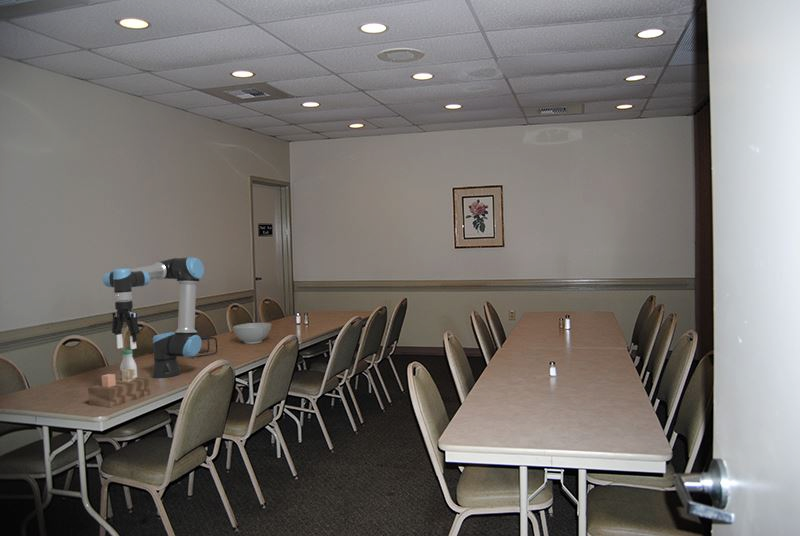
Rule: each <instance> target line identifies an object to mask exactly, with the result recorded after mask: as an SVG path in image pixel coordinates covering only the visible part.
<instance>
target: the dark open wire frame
mask: <svg viewBox="0 0 800 536" xmlns="http://www.w3.org/2000/svg"><path fill="white" fill-rule="evenodd" d="M195 330H196V331H197V332H198V327H197V325H196V324H195ZM199 336H200V338H201V340H202V341H207V350H205V351H199V352H198V353H201V354H200V355H195V356H192V357H191V358H190V359H195V358H194V357H198V358H203V357H202V356H204V357H208V355H209V356H214V354H215V355H216V354H217V353H218V352H219V351H218V350H219V349H218V339H217V338H216V337H214V336H208V335H206V334H205V335H204V334H203V335H199ZM210 340H214V341H215V351H214V352H212V353H208V352H210ZM205 352H206V354H205ZM207 353H208V354H207Z"/></svg>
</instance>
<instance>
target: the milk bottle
mask: <svg viewBox="0 0 800 536" xmlns="http://www.w3.org/2000/svg"><path fill="white" fill-rule="evenodd" d="M121 353H122V361H121V363H120V366H119V373H120V374H119V375H120V379H121V378H122V370H126V369H135V377H138V366H137V363H136V361H135V358H134V357H133V349H125V350H123V351H122V352H121Z"/></svg>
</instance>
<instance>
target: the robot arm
mask: <svg viewBox="0 0 800 536" xmlns="http://www.w3.org/2000/svg"><path fill="white" fill-rule="evenodd" d="M204 275H205V267H204V264H203V263H202V261H201V260H200V259H199V258H197V257H176V258H175V257H174V258H168V259H165V260H160V261H157V262H156V261H155V262H154V263H153V264H151V265H146V266H140V267H135V268H128V267H127V268H123V267H122V268H115V269H114V270H113V271H110V272H108V271H107V272H106V273H105V274H104V275H103V277H102V278H103V279H102V282H103V285H104V286H105V287H108V288H113V292H114V301H115V302H114V308H115V310H116V312H112V313H111V314H112V327H111V333H112V334H114V335H115V341H116V348H117V349H123V348H124V342H123V332H122V329H123V326H124V322H125V323H126V325H127V327H128V330H129V333H130V334H129V344H130V350H135V349H137V341H138V339H137V335H138V334H140V332H141V331H140V328H139V322H138V313H137V312H133V311H132V309H133V306H134V305H133V292H132V288H137V287H138V288H139V287H145V286H147V285H148V284H149V283H150V281H151V280H155V279H157V280H168V279H169V280H176V283H177V284H178V285H179V292H178V293H179V295H178V317H177V318H178V323H177V329H176V330H175V331H171V332H164V333H160V334H156V335H154V336H153V338H152V350H153V366H152V370H151V377H152V378H156V379H157V378H158V379H161V378H162V379H163V378H171V377H175V376H179V375H181V374H182V369H181V367H180V365H179V362H178V360H177V359H178V358H177V357H182V358H183V357H184V358H190V357H192V356H198V355H199V354H198V352H201V351H200V350H201V348H202V342H203V340H201V338H200V336H201V335H198V330H197V331H196V330H195V325H196V324H195V323H196V300H197V299H196V297H197V285H198V284H199V283H200V279H202V278H203V276H204Z"/></svg>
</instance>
